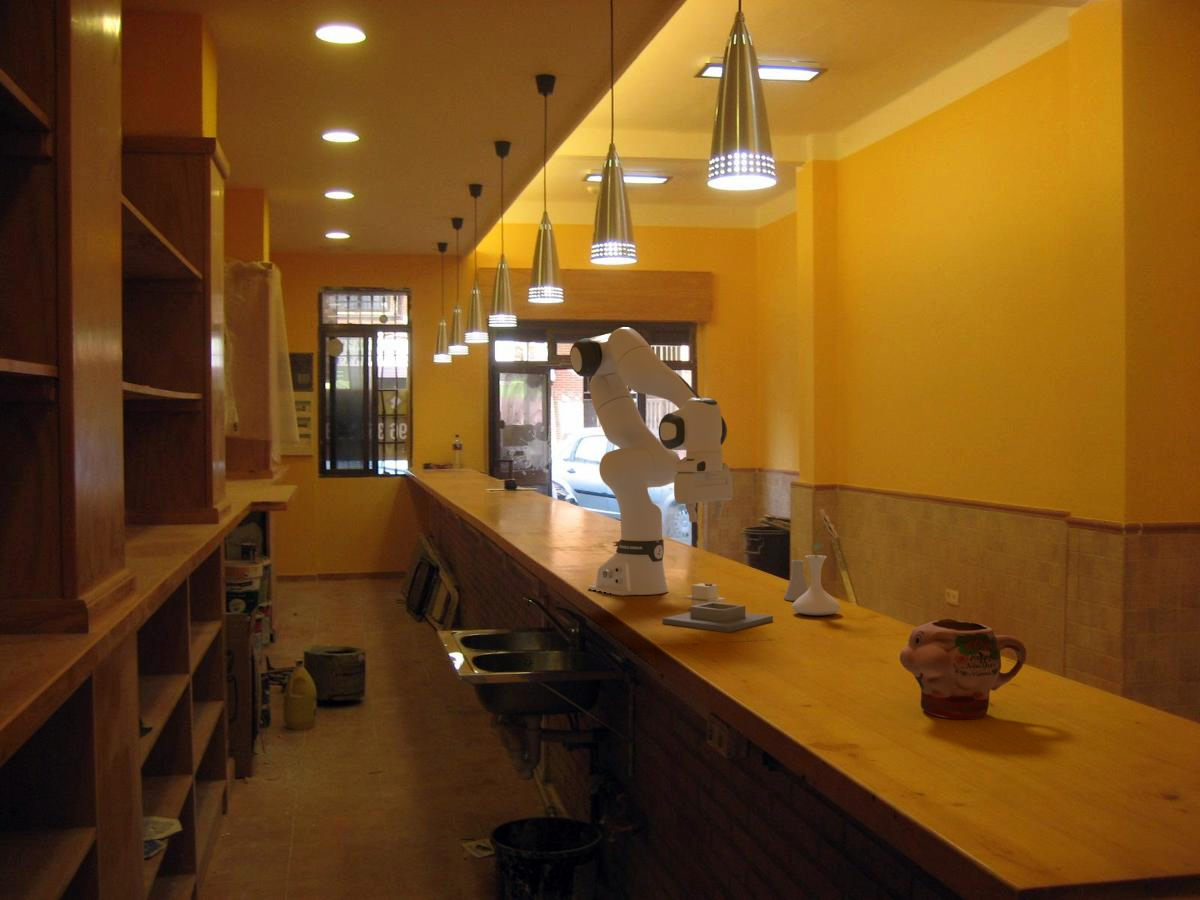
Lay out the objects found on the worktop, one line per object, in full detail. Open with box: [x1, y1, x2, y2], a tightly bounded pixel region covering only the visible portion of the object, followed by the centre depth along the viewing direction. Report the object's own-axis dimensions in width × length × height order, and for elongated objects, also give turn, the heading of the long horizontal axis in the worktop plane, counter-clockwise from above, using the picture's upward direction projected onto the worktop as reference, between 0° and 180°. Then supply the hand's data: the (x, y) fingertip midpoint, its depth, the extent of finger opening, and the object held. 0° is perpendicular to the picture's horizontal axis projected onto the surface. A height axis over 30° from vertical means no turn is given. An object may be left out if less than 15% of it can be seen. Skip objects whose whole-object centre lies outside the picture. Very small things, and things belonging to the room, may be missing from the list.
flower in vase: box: [791, 508, 841, 616], centre depth 270 cm, size 13×11×25 cm
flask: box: [783, 559, 809, 602], centre depth 293 cm, size 7×7×10 cm
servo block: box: [683, 582, 726, 606], centre depth 279 cm, size 9×4×6 cm, turn 49°
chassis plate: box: [662, 602, 774, 634], centre depth 260 cm, size 18×18×4 cm
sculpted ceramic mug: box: [899, 618, 1027, 720], centre depth 179 cm, size 20×12×14 cm, turn 99°
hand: (705, 520), depth 278 cm, fingers open, 8 cm apart
